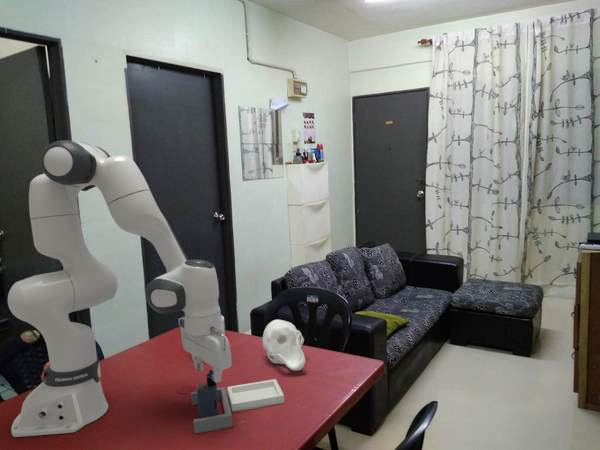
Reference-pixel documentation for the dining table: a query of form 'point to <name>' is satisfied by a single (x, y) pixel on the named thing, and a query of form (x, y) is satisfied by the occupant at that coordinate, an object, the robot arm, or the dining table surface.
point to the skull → (284, 344)
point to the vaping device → (207, 397)
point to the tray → (255, 395)
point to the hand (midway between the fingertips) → (208, 375)
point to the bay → (213, 421)
